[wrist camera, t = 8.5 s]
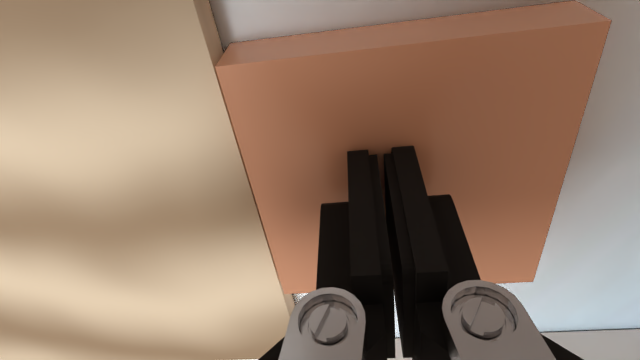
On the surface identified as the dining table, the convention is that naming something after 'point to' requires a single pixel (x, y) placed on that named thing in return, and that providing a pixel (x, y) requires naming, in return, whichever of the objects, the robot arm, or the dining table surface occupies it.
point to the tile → (418, 123)
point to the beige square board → (126, 190)
